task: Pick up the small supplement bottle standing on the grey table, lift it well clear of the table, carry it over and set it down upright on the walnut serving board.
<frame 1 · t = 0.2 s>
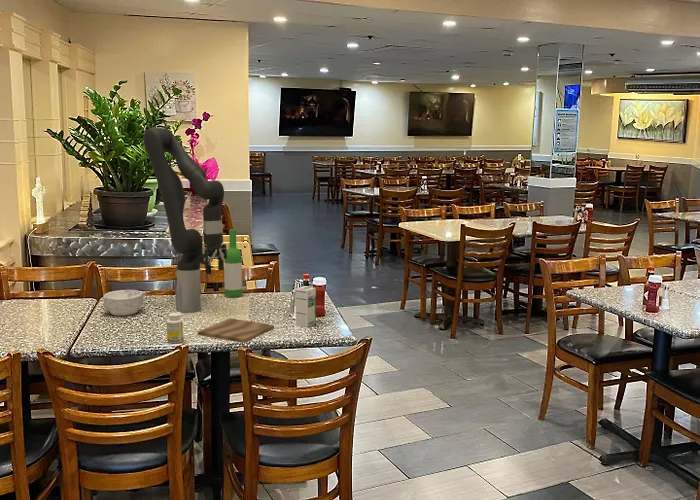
hand: (215, 272, 269), 17 cm above the table, tool pointing down, fingers open, 8 cm apart
paper bowls: (124, 313, 272), on the table
supplement bottle: (175, 341, 236), on the table
syrup box: (305, 325, 260), on the table
wine bottle: (233, 296, 302), on the table
walnut board: (236, 331, 249), on the table
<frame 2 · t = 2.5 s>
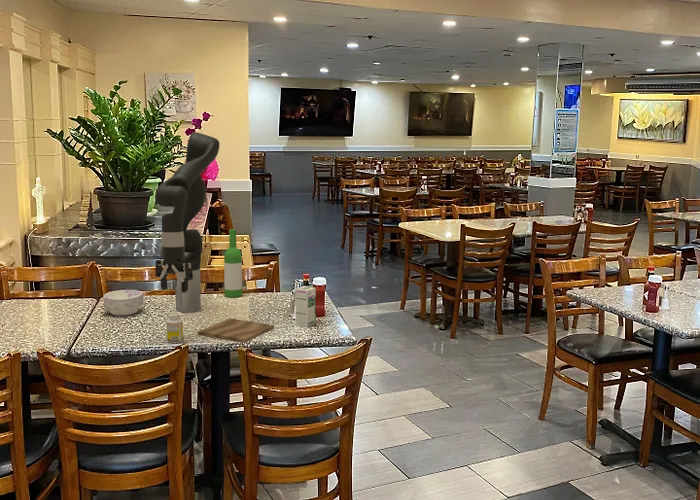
hand: (174, 290, 233), 18 cm above the table, tool pointing down, fingers open, 8 cm apart
nothing on the table moved.
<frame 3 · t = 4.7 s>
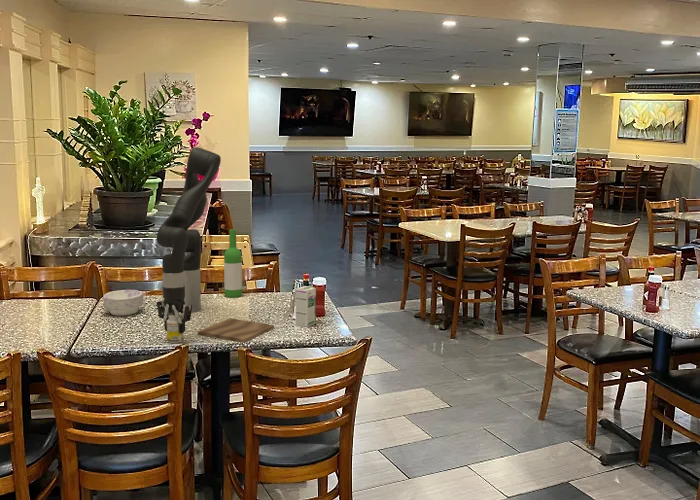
hand: (174, 331, 236), 3 cm above the table, tool pointing down, fingers closed on supplement bottle, 5 cm apart
supplement bottle: (175, 341, 236), on the table, touching gripper
everything else where it was.
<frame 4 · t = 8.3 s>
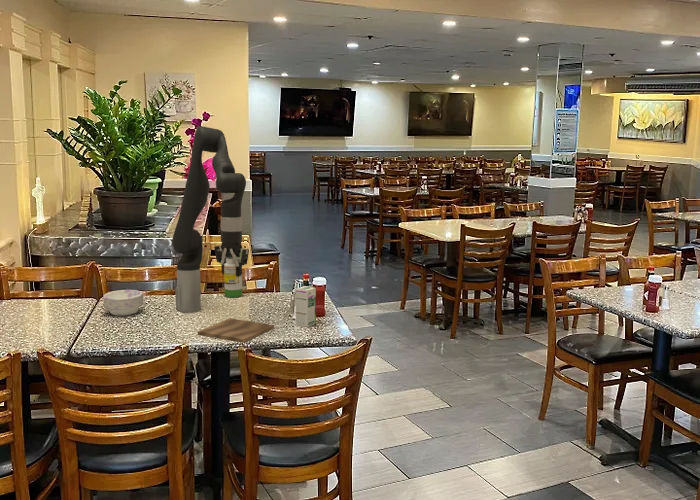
hand: (231, 275, 245), 21 cm above the table, tool pointing down, fingers closed on supplement bottle, 5 cm apart
supplement bottle: (231, 285, 245), point 18 cm above the table, touching gripper
everything else where it was.
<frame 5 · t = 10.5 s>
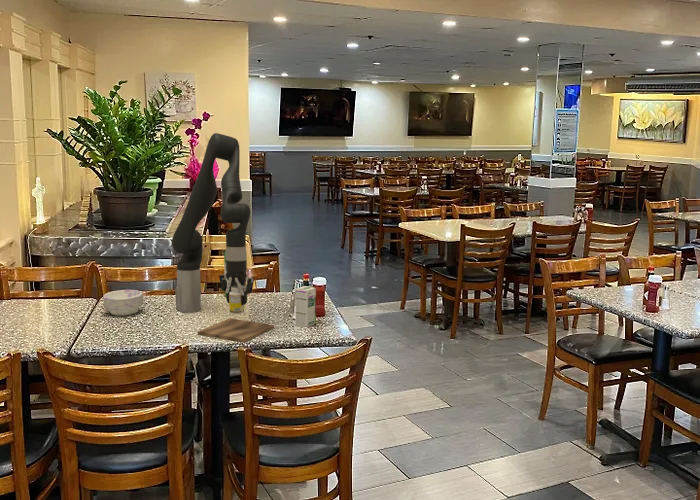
hand: (236, 303, 248), 11 cm above the table, tool pointing down, fingers closed on supplement bottle, 5 cm apart
supplement bottle: (236, 313, 248), point 7 cm above the table, touching gripper
everything else where it was.
when the fingers open (6 cm above the table, at t = 12.4 s): supplement bottle drops 1 cm, resting on walnut board.
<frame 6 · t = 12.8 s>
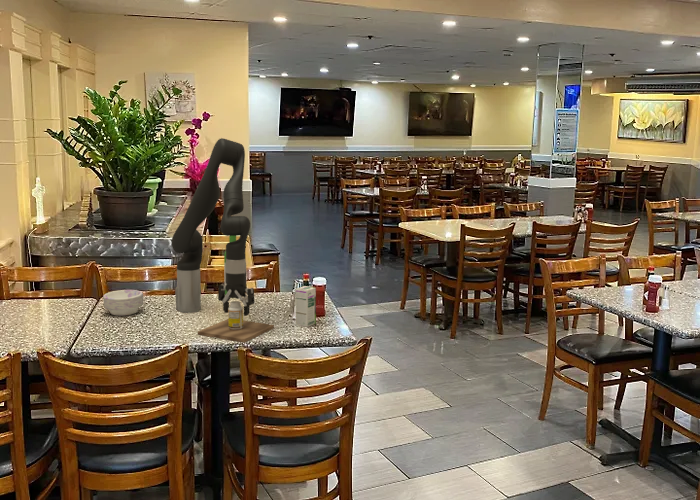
hand: (236, 314, 248), 7 cm above the table, tool pointing down, fingers open, 8 cm apart
supplement bottle: (235, 328, 249), point 1 cm above the table, touching walnut board
everything else where it was.
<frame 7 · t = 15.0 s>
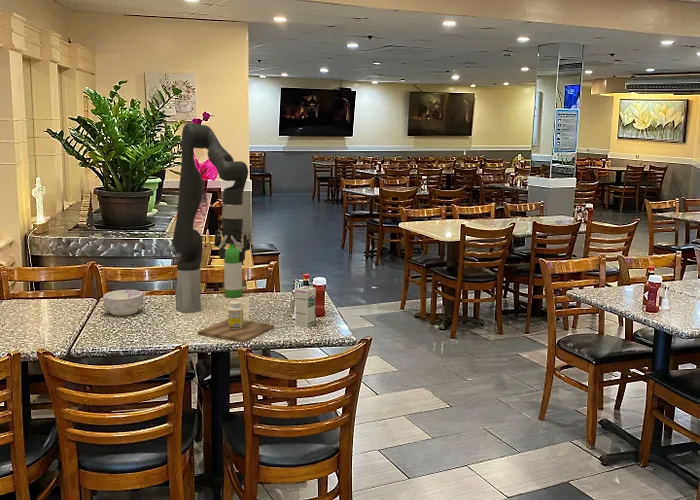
hand: (231, 260, 249), 26 cm above the table, tool pointing down, fingers open, 8 cm apart
nothing on the table moved.
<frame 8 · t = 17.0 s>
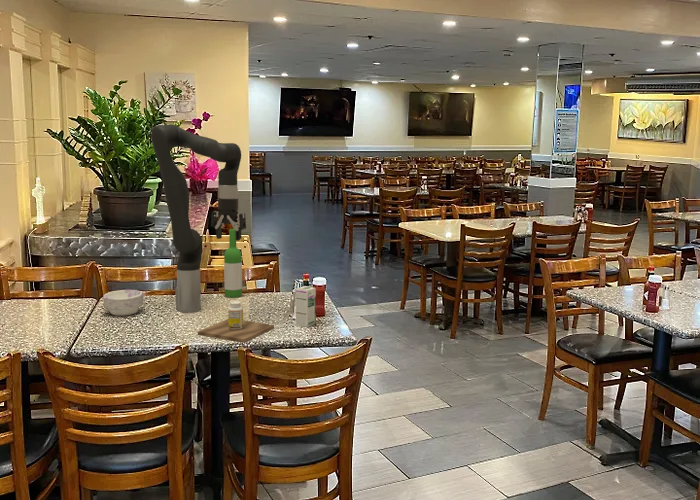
hand: (228, 239, 257), 32 cm above the table, tool pointing down, fingers open, 8 cm apart
nothing on the table moved.
at the end: supplement bottle inside the target area on the walnut board (0.4 cm from its centre), point 1.0 cm above the walnut board's base; supplement bottle tilted 0°; the gripper is holding nothing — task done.
